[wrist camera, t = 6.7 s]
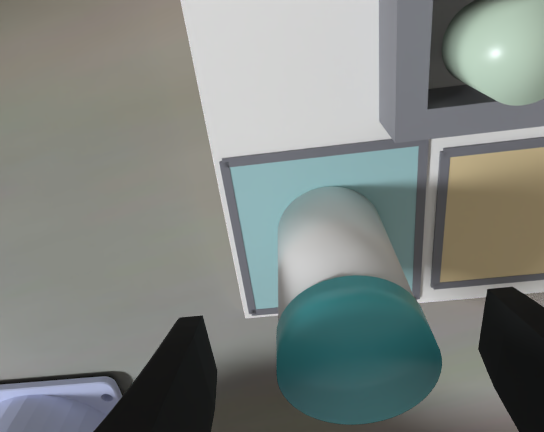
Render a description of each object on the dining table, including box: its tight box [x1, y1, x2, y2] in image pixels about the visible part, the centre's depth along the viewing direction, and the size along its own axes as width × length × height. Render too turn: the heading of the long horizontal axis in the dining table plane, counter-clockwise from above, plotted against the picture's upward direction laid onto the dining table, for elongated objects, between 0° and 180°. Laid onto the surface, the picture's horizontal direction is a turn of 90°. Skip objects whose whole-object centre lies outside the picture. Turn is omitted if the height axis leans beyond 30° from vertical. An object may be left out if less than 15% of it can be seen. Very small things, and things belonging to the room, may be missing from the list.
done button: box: [442, 0, 544, 106], centre depth 9 cm, size 2×2×2 cm
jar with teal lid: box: [276, 186, 442, 425], centre depth 12 cm, size 4×4×6 cm
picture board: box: [181, 0, 544, 318], centre depth 13 cm, size 12×13×3 cm
